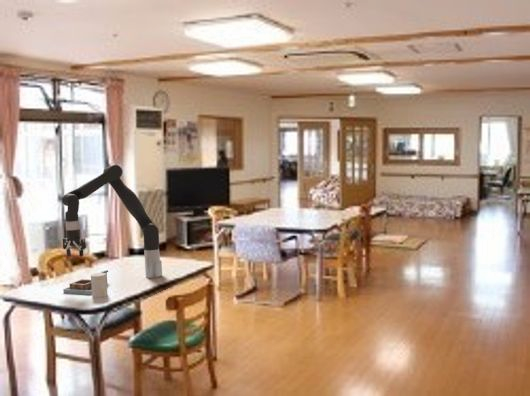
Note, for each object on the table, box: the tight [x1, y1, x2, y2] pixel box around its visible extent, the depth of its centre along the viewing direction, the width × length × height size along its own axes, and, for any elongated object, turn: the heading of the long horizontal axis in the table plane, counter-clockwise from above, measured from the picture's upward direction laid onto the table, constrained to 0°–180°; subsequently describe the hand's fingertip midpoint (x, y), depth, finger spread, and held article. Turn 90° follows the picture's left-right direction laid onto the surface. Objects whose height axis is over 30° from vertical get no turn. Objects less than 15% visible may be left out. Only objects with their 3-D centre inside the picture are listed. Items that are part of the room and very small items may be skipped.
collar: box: [69, 278, 92, 290], centre depth 340 cm, size 13×11×4 cm
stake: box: [100, 269, 109, 281], centre depth 353 cm, size 2×5×8 cm, turn 159°
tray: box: [63, 283, 109, 296], centre depth 340 cm, size 18×16×2 cm
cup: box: [90, 272, 109, 299], centre depth 325 cm, size 8×8×12 cm
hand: (75, 256), depth 340 cm, fingers open, 8 cm apart
